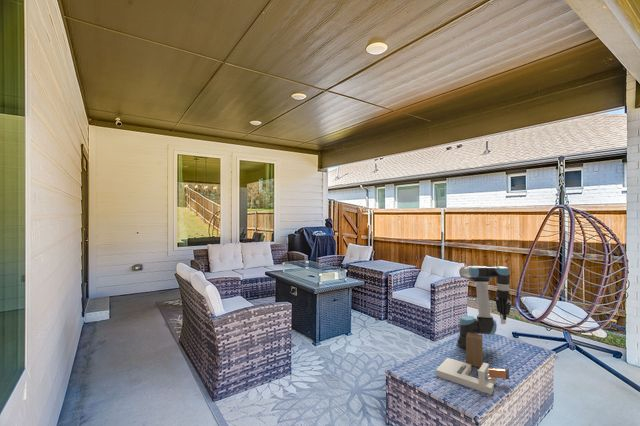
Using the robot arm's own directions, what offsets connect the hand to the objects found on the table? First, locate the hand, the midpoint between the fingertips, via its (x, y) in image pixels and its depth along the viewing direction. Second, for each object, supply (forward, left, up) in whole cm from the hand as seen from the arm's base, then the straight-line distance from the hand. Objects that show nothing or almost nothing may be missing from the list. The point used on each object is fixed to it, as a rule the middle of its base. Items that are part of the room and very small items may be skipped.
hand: (503, 323), depth 211 cm
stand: (+25, -17, -32) cm, 44 cm away
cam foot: (+21, -2, -32) cm, 38 cm away
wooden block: (+2, -18, -33) cm, 37 cm away
